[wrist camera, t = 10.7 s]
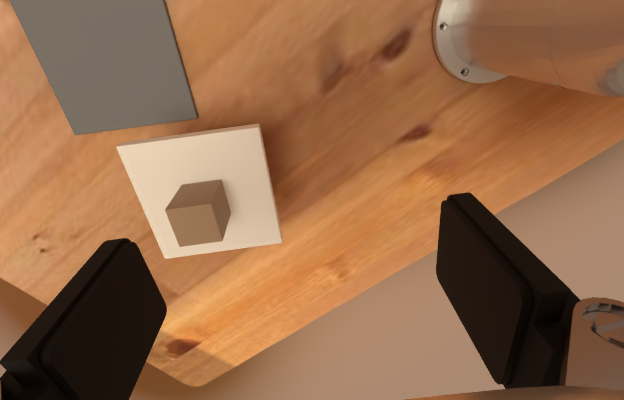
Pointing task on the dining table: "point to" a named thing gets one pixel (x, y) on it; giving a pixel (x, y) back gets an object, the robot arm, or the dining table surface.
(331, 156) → the dining table surface
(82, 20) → the grey flat square slab
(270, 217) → the lid
